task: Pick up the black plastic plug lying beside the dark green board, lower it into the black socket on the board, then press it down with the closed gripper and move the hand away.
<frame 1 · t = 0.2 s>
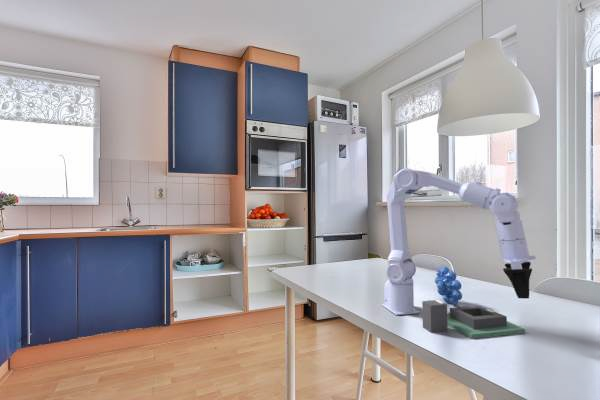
hand: (523, 294, 75), 11 cm above the table, tool pointing down, fingers open, 7 cm apart
plug: (434, 329, 80), on the table
grapes: (445, 304, 101), on the table
board: (477, 324, 82), on the table
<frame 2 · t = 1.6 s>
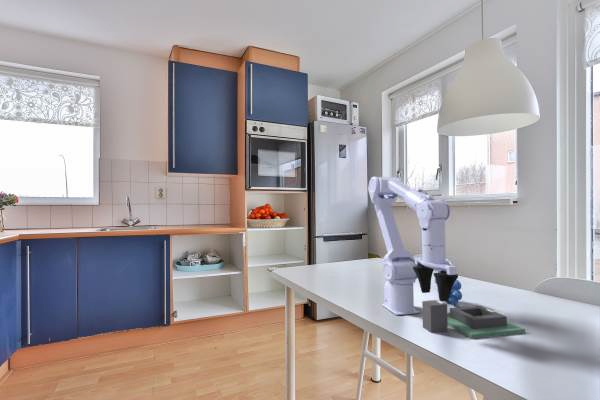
hand: (434, 296, 80), 9 cm above the table, tool pointing down, fingers open, 7 cm apart
nothing on the table moved.
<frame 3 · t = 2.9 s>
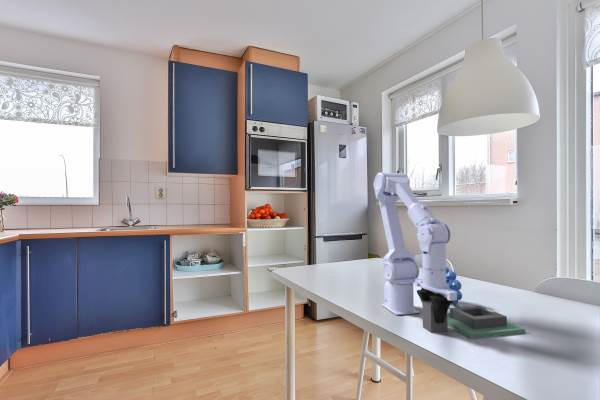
hand: (434, 319, 80), 2 cm above the table, tool pointing down, fingers closed on plug, 4 cm apart
plug: (434, 329, 80), on the table, touching gripper
everything else where it was.
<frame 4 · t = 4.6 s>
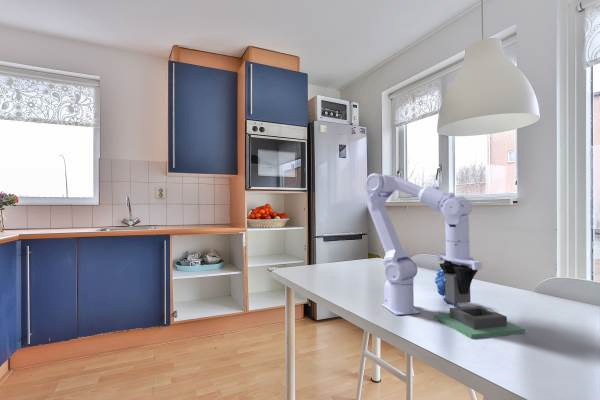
hand: (458, 291, 81), 9 cm above the table, tool pointing down, fingers closed on plug, 4 cm apart
plug: (457, 300, 81), point 7 cm above the table, touching gripper
everything else where it was.
when the fingers open (4 cm above the table, at t = 6.5 s): plug drops 2 cm, resting in board.
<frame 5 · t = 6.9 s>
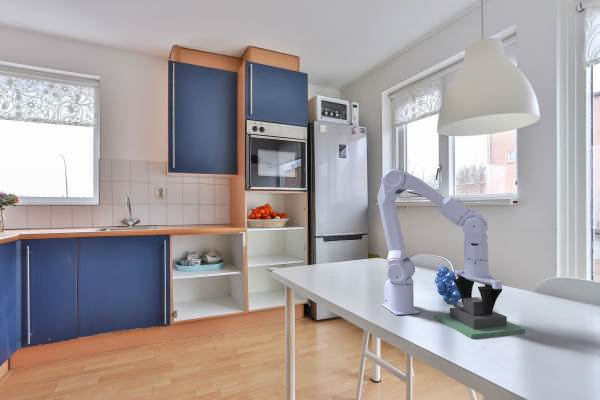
hand: (476, 308, 82), 4 cm above the table, tool pointing down, fingers open, 7 cm apart
plug: (476, 325, 82), resting in board
everything else where it was.
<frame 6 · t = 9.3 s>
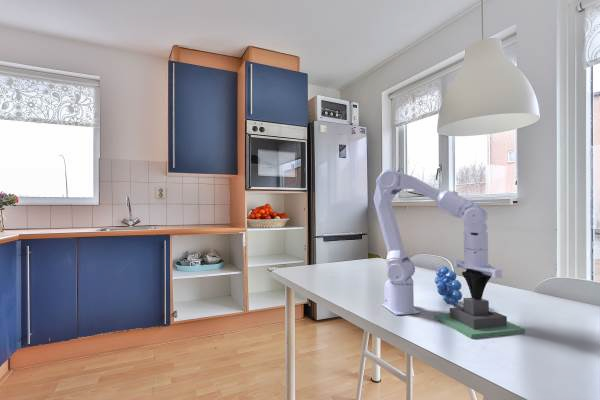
hand: (476, 298, 82), 7 cm above the table, tool pointing down, fingers closed
nothing on the table moved.
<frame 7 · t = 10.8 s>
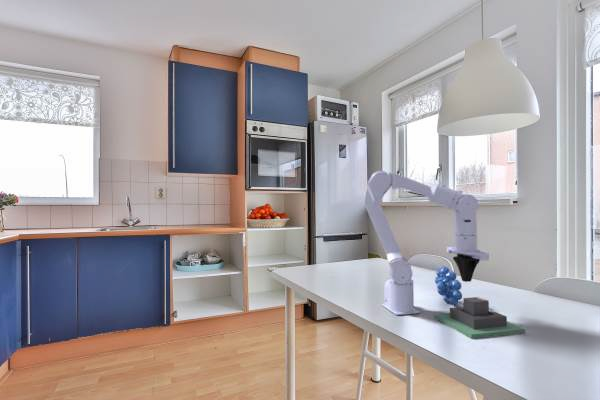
hand: (466, 281, 89), 10 cm above the table, tool pointing down, fingers closed
nothing on the table moved.
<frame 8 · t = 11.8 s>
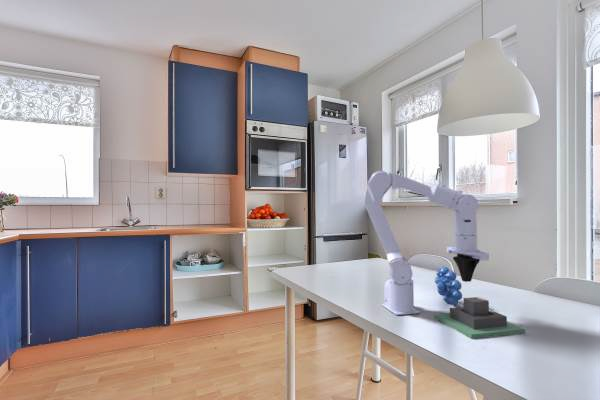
hand: (466, 281, 89), 10 cm above the table, tool pointing down, fingers closed
nothing on the table moved.
at the end: plug 0.3 cm off-centre on the board, point 0.0 cm above the board's base; plug tilted 0°; the gripper is holding nothing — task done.
